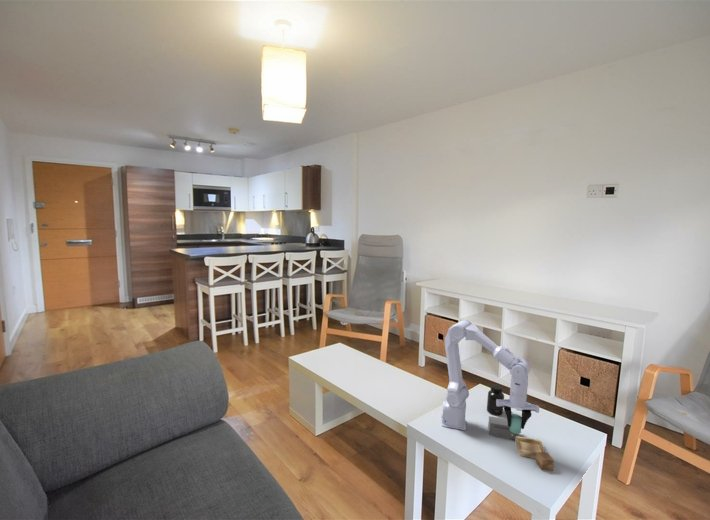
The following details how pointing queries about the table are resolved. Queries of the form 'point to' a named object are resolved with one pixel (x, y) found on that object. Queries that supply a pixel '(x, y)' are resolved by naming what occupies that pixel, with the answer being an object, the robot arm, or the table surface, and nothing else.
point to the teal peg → (515, 423)
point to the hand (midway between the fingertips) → (515, 426)
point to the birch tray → (528, 446)
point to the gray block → (500, 427)
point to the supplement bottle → (491, 401)
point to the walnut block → (544, 461)
